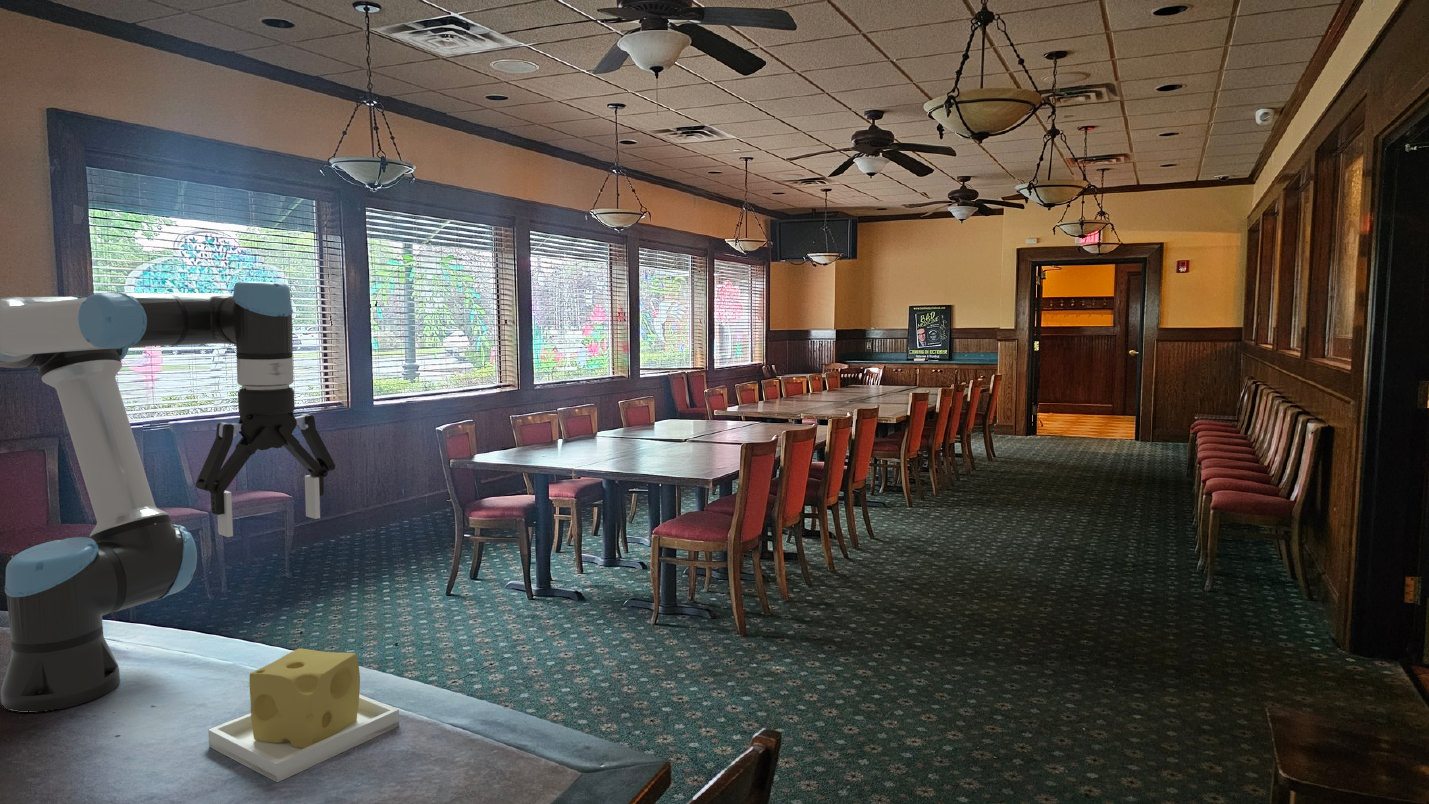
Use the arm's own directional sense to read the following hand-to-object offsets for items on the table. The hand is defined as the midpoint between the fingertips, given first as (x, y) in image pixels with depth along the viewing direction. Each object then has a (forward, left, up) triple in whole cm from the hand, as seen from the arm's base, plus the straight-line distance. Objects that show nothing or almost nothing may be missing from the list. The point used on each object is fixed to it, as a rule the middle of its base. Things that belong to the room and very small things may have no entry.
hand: (271, 526), depth 137 cm
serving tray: (+14, -5, -27) cm, 31 cm away
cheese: (+14, -4, -27) cm, 31 cm away
